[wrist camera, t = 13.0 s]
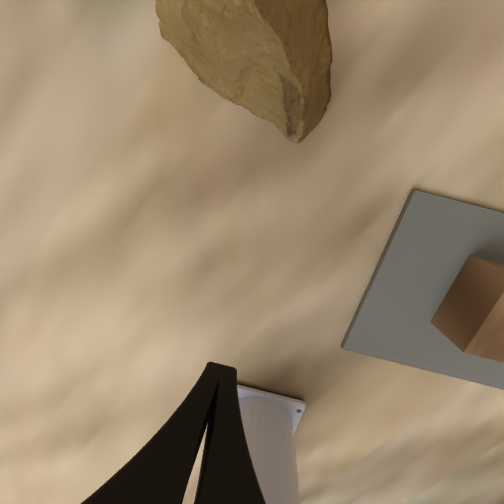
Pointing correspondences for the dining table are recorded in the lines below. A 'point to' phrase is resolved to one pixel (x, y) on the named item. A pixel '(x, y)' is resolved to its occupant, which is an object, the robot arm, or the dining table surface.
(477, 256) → the rubber mat
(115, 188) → the dining table surface
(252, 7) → the rock
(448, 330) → the walnut block
